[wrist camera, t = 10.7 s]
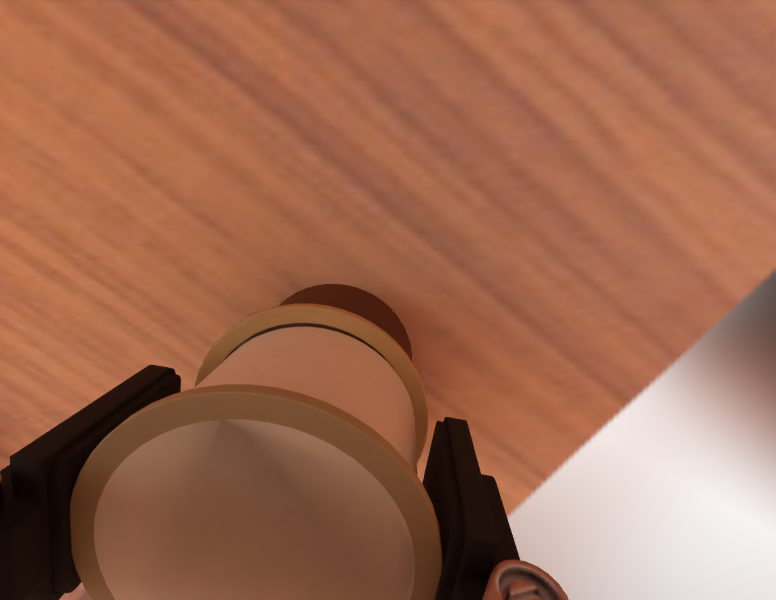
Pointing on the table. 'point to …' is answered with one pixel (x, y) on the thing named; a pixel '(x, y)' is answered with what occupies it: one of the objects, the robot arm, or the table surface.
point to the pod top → (263, 484)
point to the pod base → (341, 314)
